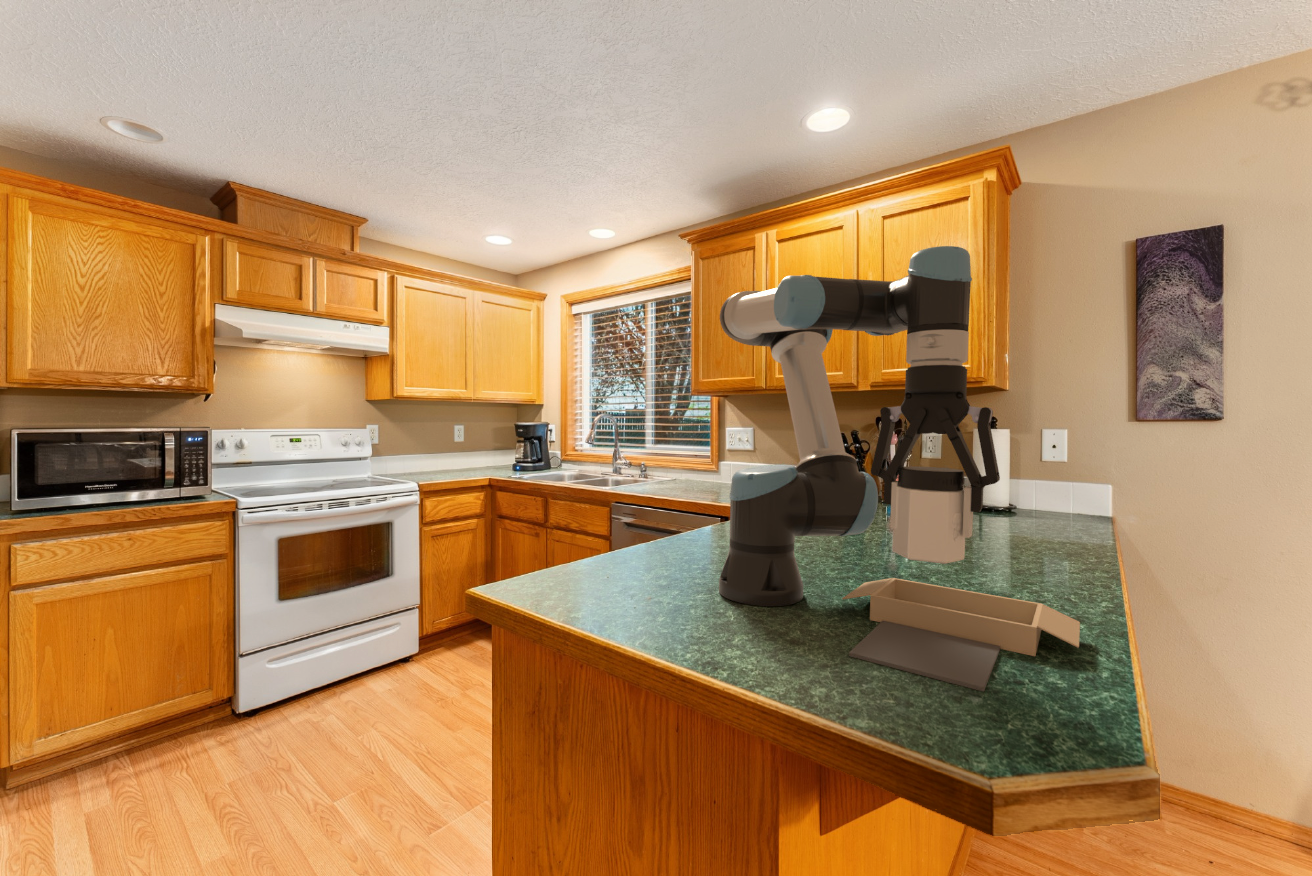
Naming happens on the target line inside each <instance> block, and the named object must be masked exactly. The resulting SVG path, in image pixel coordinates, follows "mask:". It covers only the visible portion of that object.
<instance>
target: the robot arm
mask: <svg viewBox="0 0 1312 876" xmlns="http://www.w3.org/2000/svg"><path fill="white" fill-rule="evenodd" d="M971 266H972V265H971V254H970V253H969V251H968V250H967V249H965V248H964V247H962V246H961V247H959V246H952V245H945V246H944V245H942V246H941V245H940V246H933V247H928V248H924V249H921V250H918V251H916V252H914V253H913V254H912V256H911V257H910V258H909V265H908V269H907V273H908V275H905V276H904V277H902V278H900V279H896V280H893V281H892V280H890V281H886V280H870V279H855V278H854V279H853V278H838V277H827V276H825V277H824V276H815V275H811V274H802V275H801V274H800V275H787V276H785V277H784V278H783V279H781V281H780V283H778V285H777V287H775V288H771V289H767V290H764V291H762V290H744V291H740V292H736V293H734V294H732V295H730V296H728V298H727V299H726V300H725V301H724V302H723V304H722V306H721V308H720V312H719V322H720V326H721V329H722V331H723V332H724V333H725V334H726V335H727V336H728V337H729V338H731V339H732V340H733V341H735V342H738V343H740V344H743V345H747V346H756V347H768V348H770V353H771V357H772V359H773V360H774V361H775V362H777V363H780V367H781V370H782V376H783V382H784V386H785V391H786V395H787V401H788V405H789V411H790V416H791V422H792V425H793V430H794V431H793V432H794V436H795V441H796V445H797V451H798V456H799V462H798V463H797V464H796V465H792V464H766V465H765V464H764V465H758V466H757V465H756V466H750V467H746V468H742V469H740V470H737V471H736V472H735V473H734V474H733V475H732V477H731V485H730V493H729V501H730V503H729V505H730V507H729V508H730V509H729V510H730V512H729V513H730V514H729V549H728V553H727V556H726V559H725V562H724V564H723V567H722V571H721V572H720V576H719V581H718V592H719V594H720V595H721V596H722V597H723V598H725V599H727V600H731V601H732V602H736V603H740V604H743V605H750V606H757V607H759V606H760V607H781V606H789V605H794V604H797V603H799V602H801V601H802V600H803V598H804V582H803V579H802V576H801V573H800V569H799V565H798V562H797V559H796V556H795V540H796V538H795V537H810V536H811V537H817V536H818V537H821V536H823V537H827V536H833V537H834V536H839V537H846V536H851V535H859V534H862V533H864V532H866V531H867V530H868V529H869V528H870V526H871V525H872V524H873V522H874V520H875V516H876V513H877V510H878V505H879V493H878V486H877V483H876V481H875V478H874V477H873V476H876V477H879V478H881V479H882V480H883V485H884V488H883V491H884V492H883V502H884V503H885V504H890V521H889V522H890V523H889V524H890V526H889V529H892V530H893V529H895V520H896V491H897V486H898V474H899V468H900V467H904V465H905V463H906V461H907V459H908V458H909V456H910V454H911V452H912V450H913V449H914V446H915V444H916V443H917V440H918V439H919V438H920V437H921V435H923V434H924V435H927V434H937V435H946V436H947V438H948V439H949V442H951V445H952V447H953V449H954V451H955V453H956V456H957V458H958V460H959V462H960V464H961V466H962V469H963V471H964V474H965V475H966V477H967V479H968V481H969V483H970V485H967V486H965V487H964V489H963V490H964V509H963V537H965V539H969V538H971V537H972V536H973V526H974V525H973V523H974V522H973V520H974V513H980V512H981V511H982V509H983V506H984V505H983V503H984V502H983V501H984V488H985V487H986V486H991V485H994V484H996V483H998V482H999V481H1000V479H1001V478H1000V477H1001V476H1000V471H999V466H998V459H997V455H996V450H995V449H996V448H995V444H994V438H993V433H992V429H991V424H992V419H993V414H994V411H993V409H992V408H991V407H978V406H971V405H970V403H969V402H968V398H967V388H968V387H967V383H968V369H967V368H966V366H965V365H963V364H964V363H966V362H968V360H969V336H970V335H969V334H970V332H969V326H970V306H971V305H970V304H971V287H972V286H971V285H972V284H971V283H972V281H973V278H972V273H971V271H972V270H971V269H972V268H971ZM833 330H836V331H837V330H839V331H840V330H841V331H850V332H851V331H855V332H865V333H866V334H868V335H870V336H873V337H874V336H875V337H881V336H892V335H894V334H898V333H899V332H901V333H902V332H905V331H906V356H905V358H906V359H905V360H906V361H905V362H906V363H907V364H908V365H910V367H907V369H906V370H905V382H904V384H905V385H904V387H905V388H904V398H903V402H902V403H901V405H900V406H891V407H888V406H883V407H881V408H880V410H879V411H880V419H881V426H880V430H879V435H878V439H877V443H876V448H875V451H874V455H873V461H872V465H871V468H870V469H871V470H870V473H871V474H872V476H871V474H869V473H868V472H865V471H859V467H858V464H857V460H856V458H855V456H853V455H851V454H849V453H847V452H846V449H845V446H844V442H843V440H844V439H843V437H842V432H841V430H840V429H841V427H840V425H839V420H838V416H837V412H836V408H835V403H834V399H833V395H832V391H831V387H830V383H829V380H828V379H829V378H828V374H827V370H826V367H825V362H824V358H823V353H824V351H825V350H826V348H827V345H828V343H829V342H830V340H831V338H832V336H833V335H832V334H833ZM902 414H903V416H904V417H905V419H906V420H907V422H908V423H909V426H908V427H907V429H906V431H905V433H904V436H903V437H902V441H901V442H900V443H899V446H898V448H897V450H896V451H895V453H894V455H893V457H892V459H891V461H890V463H889V464H888V467H887V468H886V466H887V465H886V464H887V461H888V458H889V457H888V456H889V453H890V448H891V446H892V445H891V444H892V440H893V435H894V431H895V426H896V422H898V421H899V419H900V416H901V415H902ZM968 415H970V416H971V418H972V422H973V423H975V424H977V426H976V427H977V433H978V440H979V445H980V449H981V456H982V461H983V465H984V466H983V467H984V472H985V475H982V474H981V472H980V470H979V468H978V466H977V463H976V462H975V459H974V458H973V455H972V454H971V451H970V449H969V446H968V445H967V442H966V440H965V438H964V434H963V432H962V431H961V428H960V426H959V425H960V424H961V423H962V422H963V420H965V419H966V417H967V416H968Z"/></svg>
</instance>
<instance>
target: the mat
mask: <svg viewBox="0 0 1312 876" xmlns="http://www.w3.org/2000/svg"><path fill="white" fill-rule="evenodd" d="M1000 651H1001V649H1000V646H997V645H993V644H988V643H984V642H979V641H974V640H970V639H965V638H961V637H956V636H952V635H947V634H942V633H938V632H933V631H929V630H924V629H919V628H915V627H910V626H906V625H901V624H897V623H892V622H887V621H882V622H879V623H878V624H877V625H876V626H875V627H874V628H873V629H872V630H871V631H870V632H869V633H868V634H867V635H866V636H865V637H863V639H862V640H861V641H859V642H858V643H857V644H856V645H855V646H854V647H853V648H852V649H851V650H850V651H849V652H848V657H851V658H855V659H860V660H863V661H865V662H866V661H867V662H870V663H873V664H877V665H881V666H885V667H889V668H892V669H897V670H900V671H904V672H907V673H912V674H916V675H919V676H924V677H927V678H930V679H935V680H938V681H942V682H946V683H950V684H953V685H957V686H960V687H965V688H968V689H971V690H976V691H980V692H985V689H986V687H987V684H988V682H989V680H990V677H991V674H992V672H993V669H994V667H995V664H996V662H997V660H998V657H999V654H1000Z"/></svg>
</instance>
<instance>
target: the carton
mask: <svg viewBox="0 0 1312 876" xmlns="http://www.w3.org/2000/svg"><path fill="white" fill-rule="evenodd" d="M867 596H870V601H869V602H870V606H869V620H870V621H874V622H878V623H881V622H882V621H887V622H892V623H897V624H901V625H906V626H910V627H915V628H919V629H924V630H929V631H933V632H938V633H942V634H947V635H952V636H956V637H961V638H965V639H970V640H974V641H979V642H984V643H988V644H993V645H997V646H1000V650H1004V651H1008V652H1013V653H1019V654H1023V655H1028V656H1032V657H1036V654H1037V652H1038V647H1039V642H1040V638H1041V633H1042V631H1044V632H1045V633H1047V634H1050V635H1052V636H1054V637H1056V638H1057V639H1060V640H1061V641H1064V642H1066V643H1068V644H1070V645H1072V646H1073V647H1075V648H1077V649H1079V647H1080V632H1081V631H1080V630H1081V629H1080V628H1081V621H1079V620H1076V619H1075V618H1073V617H1070V616H1068V615H1066V614H1064V613H1062V612H1060V611H1058V610H1056V609H1054V608H1052V607H1049V606H1047V605H1045V604H1043V603H1040V602H1034V601H1029V600H1023V599H1017V598H1012V597H1011V598H1010V597H1005V596H999V595H994V594H988V593H983V592H982V593H981V592H977V591H971V590H964V589H960V588H953V587H948V586H942V585H936V584H932V583H931V584H930V583H924V582H920V581H912V580H906V579H901V578H896V577H892V578H891V577H890V578H884V579H879V580H872V581H865V582H863V583H862V584H861V585H860V586H858V587H856V588H855V589H854V590H852V591H850V592H849V593H848V594H846V595H845V596H844V597H842V600H848V599H853V598H859V597H860V598H861V597H862V598H863V597H867Z"/></svg>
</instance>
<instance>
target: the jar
mask: <svg viewBox="0 0 1312 876" xmlns="http://www.w3.org/2000/svg"><path fill="white" fill-rule="evenodd" d="M897 477H898V478H897V481H898V486H897V491H896V520H895V529H893V528H892V552H893V553H895V554H897V555H899V556H902V557H903V558H905V559H907V560H911V561H917V562H928V563H935V564H936V563H937V564H943V565H945V564H949V563H954V562H955V563H956V562H959V561H963V560H964V559H965V556H966V555H965V554H966V553H965V551H966V538H965V537H963V509H964V488H965V487H964V485H965V480H966V479H965V471H964V469H963V470H962V469H957V468H948V467H937V466H903V467H900V468H899V474H898V476H897Z"/></svg>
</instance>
